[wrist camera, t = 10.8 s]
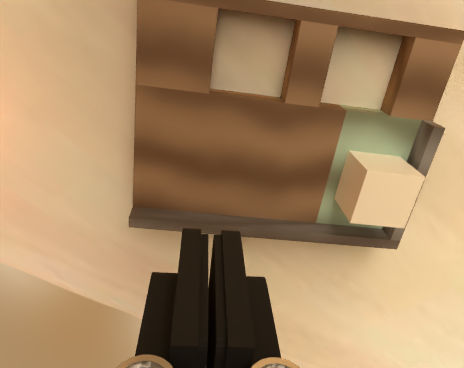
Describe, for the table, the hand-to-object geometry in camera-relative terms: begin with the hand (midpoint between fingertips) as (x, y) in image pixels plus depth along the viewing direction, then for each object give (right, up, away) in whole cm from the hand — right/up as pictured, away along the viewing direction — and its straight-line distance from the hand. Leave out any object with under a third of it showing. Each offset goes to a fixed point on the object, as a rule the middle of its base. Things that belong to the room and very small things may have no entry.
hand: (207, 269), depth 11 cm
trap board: (+5, +8, +23) cm, 25 cm away
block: (+13, +3, +24) cm, 28 cm away
